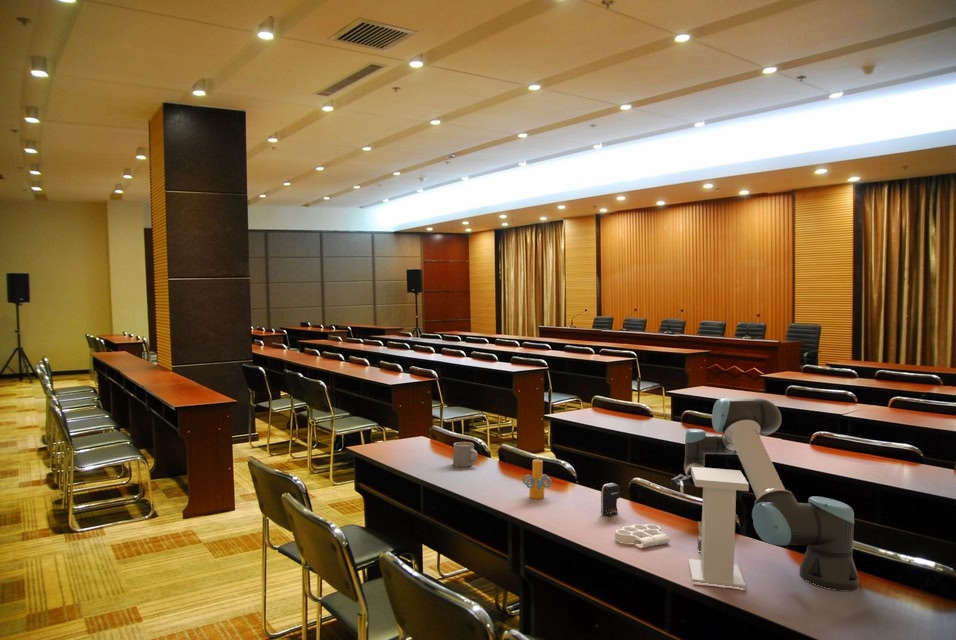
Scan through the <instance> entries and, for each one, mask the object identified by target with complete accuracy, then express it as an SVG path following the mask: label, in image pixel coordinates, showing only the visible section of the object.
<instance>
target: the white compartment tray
mask: <svg viewBox="0 0 956 640" xmlns="http://www.w3.org/2000/svg"><path fill="white" fill-rule="evenodd" d="M661 530H662V529H661V527H660V526H659V525H657V524H652V523H647V524H639V523H638V524H632V525H626V526H622V528H620V529H615V531H614V540H615V539H616V540H617V541H619V542H623V543H634V544H641V543H642V544H643V547H642V549H644V548H649V547H655V545H656V546H660V545H665V543H666V544H668V543H670V542H671V540H670V537H669V536H668V535H667V534H666V533H664V532H662V531H661Z"/></svg>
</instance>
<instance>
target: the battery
mask: <svg viewBox="0 0 956 640" xmlns="http://www.w3.org/2000/svg"><path fill="white" fill-rule="evenodd" d="M620 488H621V487H620V486H619V485H618V484H616V483H613V482H610V483H606V484H603V485H602V486H601V491H600V492H601V495H600V503H601V506H600V514H601V515H603V516H606V517H610V516H614V515H618V513H619V512H618V503H617V502H618V499H621V489H620Z"/></svg>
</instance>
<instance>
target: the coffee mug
mask: <svg viewBox="0 0 956 640" xmlns="http://www.w3.org/2000/svg"><path fill="white" fill-rule="evenodd" d="M477 451H478V450H475V444H474V443H473V442H469V441H458V442H454V443H453V453H452V455H453V456H452V458H453V459H452V463H453V466H454V465H455V466H454V467H457V466H460V468H469V467H468V466H471V467H473V466H474V464H475V463H476V462H477V461H478V455H479V454H478V452H477ZM472 465H473V466H472Z"/></svg>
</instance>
